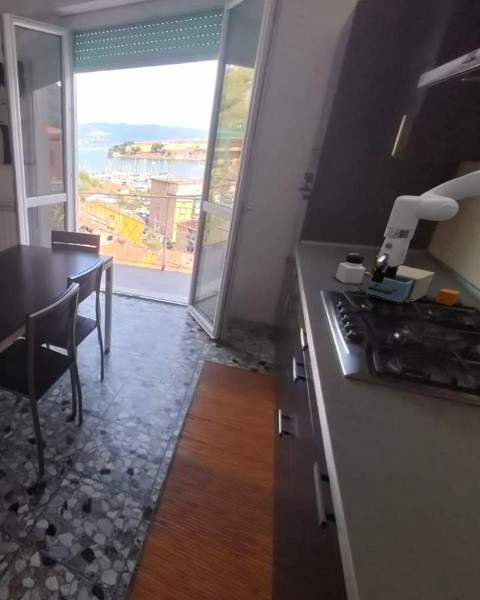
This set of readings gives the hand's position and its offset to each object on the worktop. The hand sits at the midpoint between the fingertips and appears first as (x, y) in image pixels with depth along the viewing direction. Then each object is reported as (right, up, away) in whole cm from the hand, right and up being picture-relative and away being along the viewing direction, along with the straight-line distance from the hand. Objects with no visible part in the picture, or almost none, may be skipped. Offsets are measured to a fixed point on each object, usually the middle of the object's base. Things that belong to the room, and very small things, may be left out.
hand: (382, 279), depth 129 cm
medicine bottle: (+8, +1, +28) cm, 29 cm away
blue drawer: (+9, -6, +9) cm, 14 cm away
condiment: (+27, +4, +35) cm, 44 cm away
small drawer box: (+18, -5, +14) cm, 24 cm away
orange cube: (+29, -8, +6) cm, 31 cm away
